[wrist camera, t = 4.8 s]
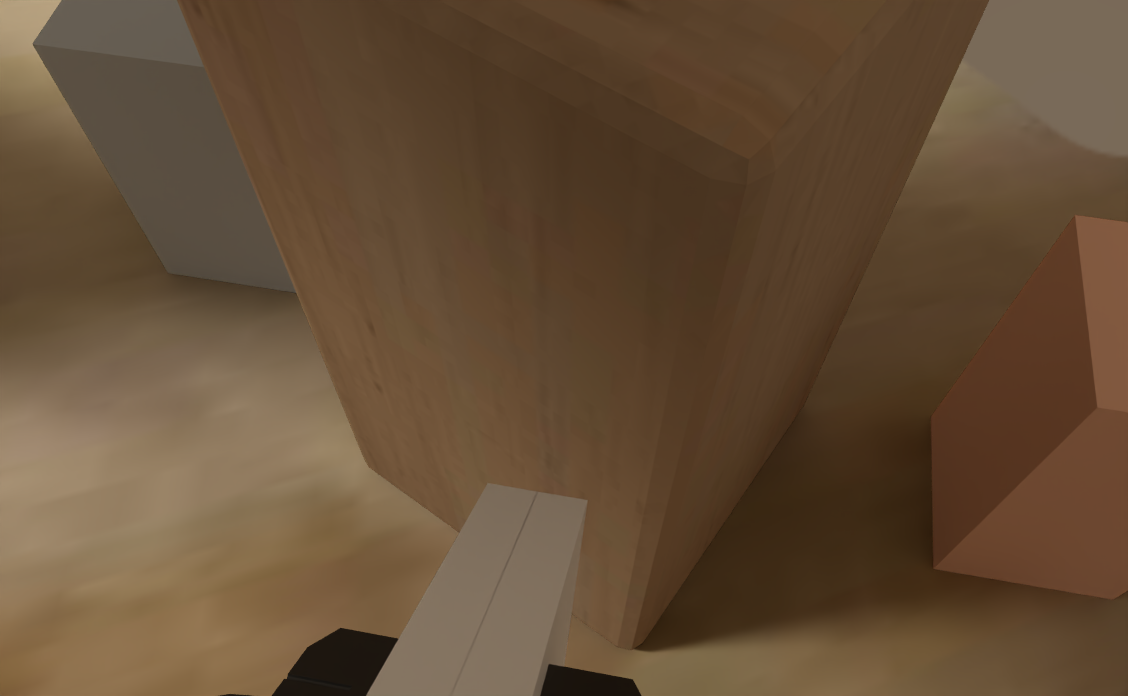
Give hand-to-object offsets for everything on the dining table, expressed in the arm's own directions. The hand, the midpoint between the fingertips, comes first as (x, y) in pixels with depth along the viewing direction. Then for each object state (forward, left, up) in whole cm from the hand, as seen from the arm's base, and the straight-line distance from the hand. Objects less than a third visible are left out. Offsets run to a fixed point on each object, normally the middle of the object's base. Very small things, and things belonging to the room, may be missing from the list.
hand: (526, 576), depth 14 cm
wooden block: (+8, +4, -13) cm, 16 cm away
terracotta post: (+14, -8, -13) cm, 20 cm away
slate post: (+8, +18, -13) cm, 24 cm away
